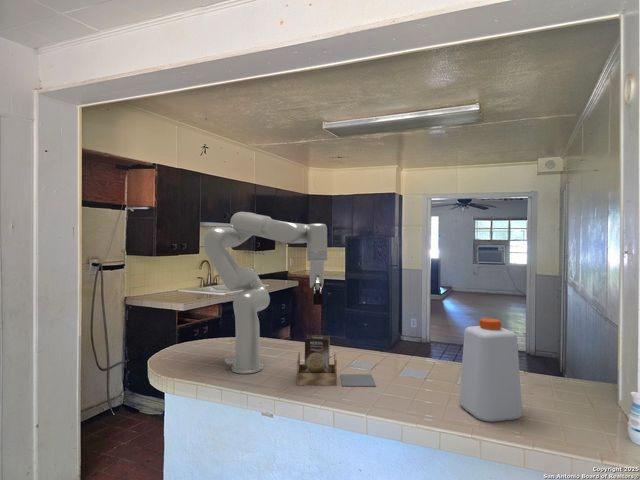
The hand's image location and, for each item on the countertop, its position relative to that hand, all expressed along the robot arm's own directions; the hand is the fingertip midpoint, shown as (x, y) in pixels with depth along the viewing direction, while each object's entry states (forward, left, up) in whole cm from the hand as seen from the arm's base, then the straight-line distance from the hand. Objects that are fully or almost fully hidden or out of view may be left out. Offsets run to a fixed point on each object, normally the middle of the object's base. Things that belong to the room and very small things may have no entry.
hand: (317, 302), depth 150 cm
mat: (+15, -1, -29) cm, 32 cm away
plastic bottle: (+53, -27, -29) cm, 66 cm away
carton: (0, 0, -29) cm, 29 cm away
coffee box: (0, 0, -29) cm, 29 cm away
